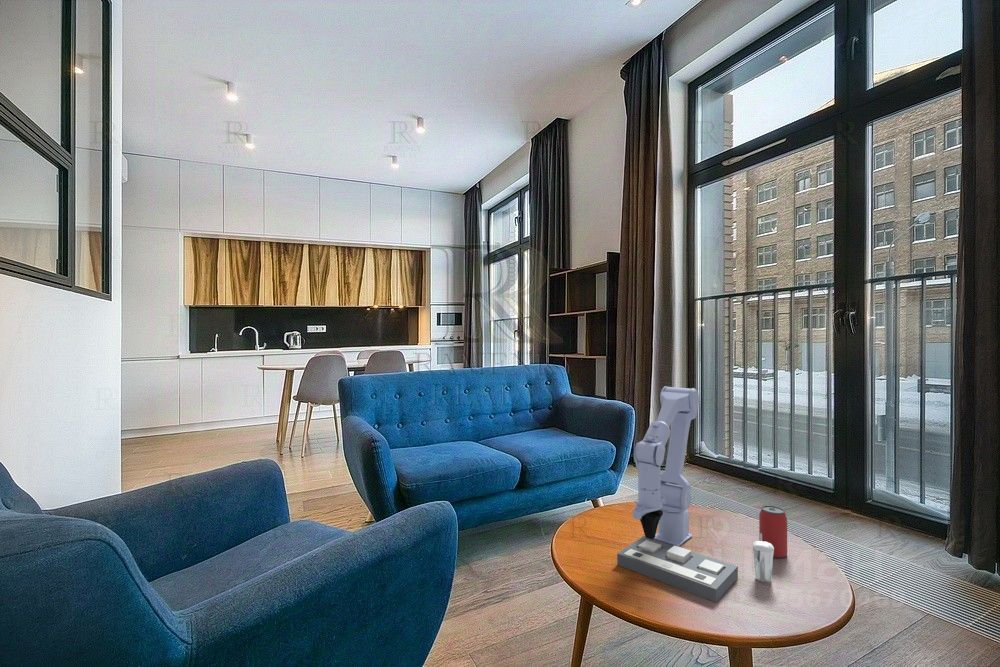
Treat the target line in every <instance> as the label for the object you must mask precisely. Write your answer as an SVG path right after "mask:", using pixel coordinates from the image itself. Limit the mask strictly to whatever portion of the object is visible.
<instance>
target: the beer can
mask: <svg viewBox="0 0 1000 667" xmlns="http://www.w3.org/2000/svg"><path fill="white" fill-rule="evenodd" d="M758 520H759V521H758V522H759V524H758V525H759V527H758V528H759V529H758V530H759V531H758V533H759V536H758V537H759V540H758V541H760V533H761V534H762V541H764V542H768V543H771V544H772V545H773V547H774V554H773V559H774V558H775V559H781V558H785V557H786V556H788V518H787V515H786V511H785V509H784V508H782V507H779V506H776V505H768V504H767V505H763V506H761V510H760V512H759V515H758Z"/></svg>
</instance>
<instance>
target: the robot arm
mask: <svg viewBox="0 0 1000 667" xmlns="http://www.w3.org/2000/svg"><path fill="white" fill-rule="evenodd" d="M659 397H660V398H659V399H660V400H659V401H660V405H661V406H660V411H659V413H658V416H657V419H656V421H653V422H651V423H650V425H649V426H648V429H647V431H646V432H645V434H644V437H643V439H642V440H640V441H639V442H637V443H636V444H635V446H634V451H633V459H634V461H635V468H636V470H637V487H638V488H637V489H638V492H637V493H638V494H637V495H638V496H637V498H638V499H635V500H634V504H635V505H636V506H635V508H634V509H633V510H632V519H636V520H638V521H640V523H641V526H642V527H641V528H642V530H643V533H644V536H645V537H646V538H649V539H655V540H658V541H661V542H664V543H667V544H670V545H673V546H674V545H675V546H678V547H681V545H683V544H684V543H685V542H687V541H688V540H689V539H690V538H692V537H693V534H691V533H690V515H689V510H688V509H689V508H690V505H691V502H692V493H691V491H692V486H691V484H690V482H689V481H688V479H686V478H685V476H684V475H683V474H684V465H685V460H686V452H687V446H688V439H689V434H690V433H689V432H690V427H691V421H692V420H694V419H697V414H698V412H699V411H698V410H699V404H700V397H699V393H698V390H697V389H696V387H692V388H689V387H688V388H685V387H673V386H668V385H667V386H666V385H664V386H663V387H662V389H661V390H660V395H659ZM671 424H672V425H671ZM670 426H671V428H670ZM669 437H670V439H669ZM668 440H669V444H668V450H667V457H666V463H665V464H666V465H665V469H664V471H663V473H661V466H662V464H663V462H664V460H665V453H666V445H667V442H668ZM657 531H658V532H657Z"/></svg>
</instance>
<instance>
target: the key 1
mask: <svg viewBox="0 0 1000 667" xmlns="http://www.w3.org/2000/svg"><path fill="white" fill-rule="evenodd" d="M638 548H640V549H643V550H646V551H648V552H651V553H654V554H655V553H656V552H657V551H659V550H660V549H661V548H662V547H661V545H660V544H657V543H654V542H651V541H648V540H645V541H644V542H642V543H641V544H640V545H638Z"/></svg>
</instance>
